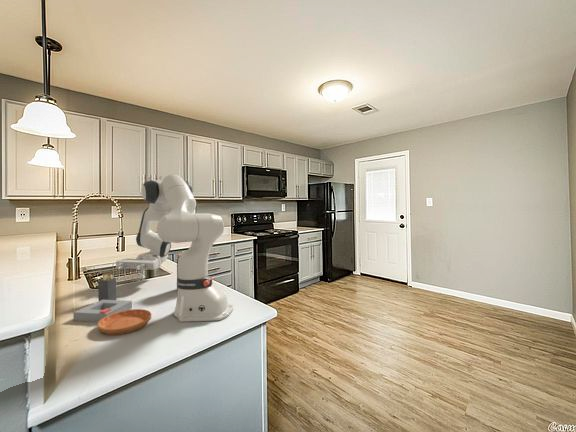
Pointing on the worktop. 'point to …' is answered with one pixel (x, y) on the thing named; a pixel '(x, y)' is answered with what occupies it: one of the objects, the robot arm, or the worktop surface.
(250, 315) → the worktop surface
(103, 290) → the plug
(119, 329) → the saucer
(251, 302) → the worktop surface
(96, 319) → the socket
